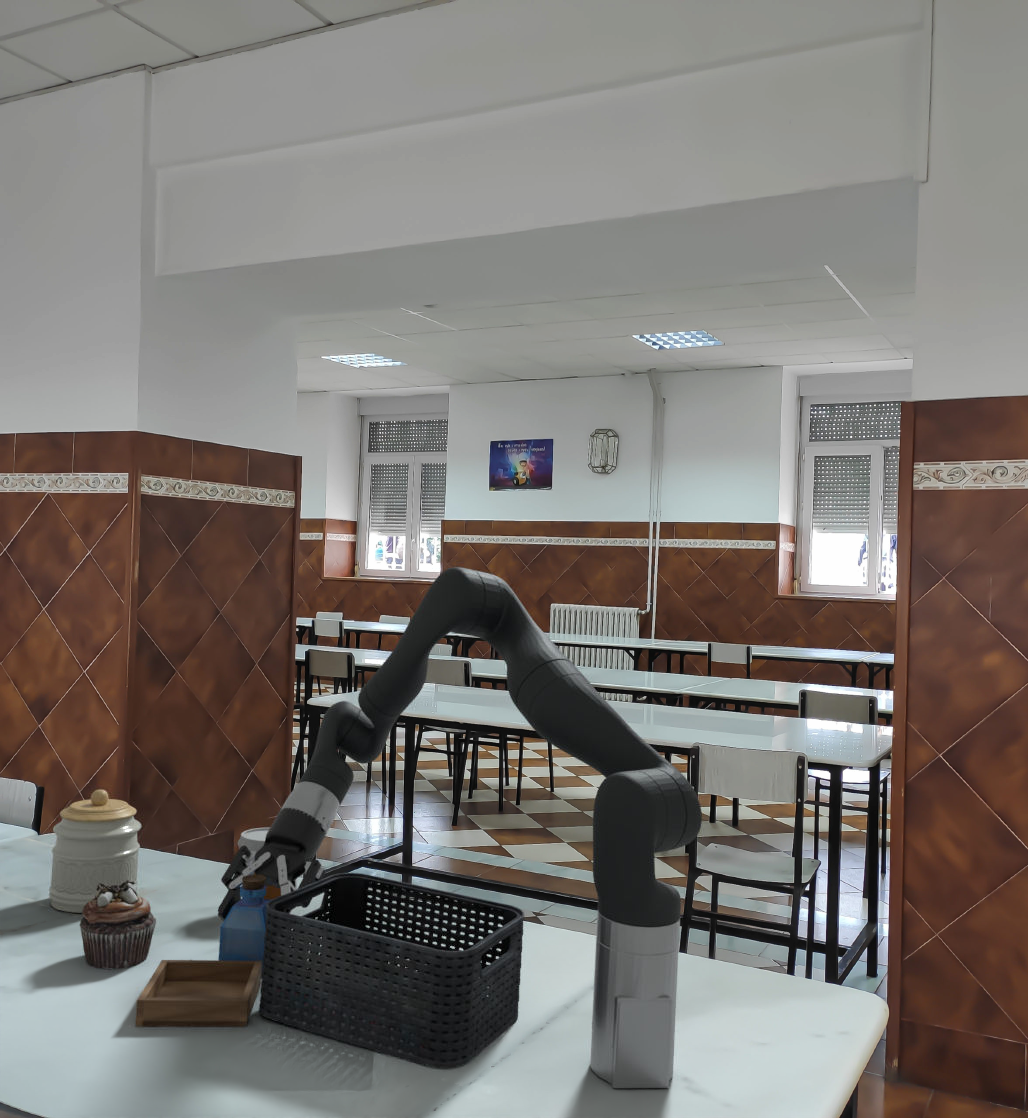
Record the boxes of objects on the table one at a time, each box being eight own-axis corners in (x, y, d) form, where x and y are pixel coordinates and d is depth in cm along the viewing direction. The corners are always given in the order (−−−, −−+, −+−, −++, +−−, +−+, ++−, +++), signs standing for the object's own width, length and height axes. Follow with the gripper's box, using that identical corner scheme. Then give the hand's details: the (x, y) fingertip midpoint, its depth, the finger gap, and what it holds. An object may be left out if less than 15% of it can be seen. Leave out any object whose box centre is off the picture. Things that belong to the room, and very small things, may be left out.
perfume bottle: (278, 961, 139) (283, 873, 140) (262, 978, 133) (268, 886, 133) (235, 957, 140) (240, 870, 140) (217, 974, 134) (223, 882, 134)
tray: (246, 1026, 119) (247, 1001, 119) (135, 1026, 117) (136, 1000, 117) (260, 984, 131) (262, 961, 131) (160, 983, 130) (161, 960, 130)
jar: (54, 891, 164) (61, 782, 165) (139, 887, 168) (145, 781, 169) (42, 917, 152) (50, 799, 153) (134, 912, 156) (141, 798, 156)
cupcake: (91, 977, 131) (96, 899, 131) (69, 954, 138) (74, 880, 138) (164, 962, 137) (169, 888, 137) (139, 941, 144) (144, 870, 145)
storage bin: (528, 1013, 127) (533, 906, 127) (456, 1078, 109) (462, 953, 110) (338, 967, 139) (344, 869, 139) (246, 1018, 121) (252, 906, 122)
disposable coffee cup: (228, 903, 163) (233, 828, 163) (287, 898, 167) (292, 825, 167) (239, 922, 154) (243, 843, 154) (301, 917, 158) (305, 839, 158)
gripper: (253, 799, 147) (192, 900, 136) (335, 813, 141) (277, 920, 130) (274, 829, 152) (216, 929, 141) (354, 843, 145) (300, 949, 135)
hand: (246, 924), depth 135 cm, fingers closed on perfume bottle, 7 cm apart
